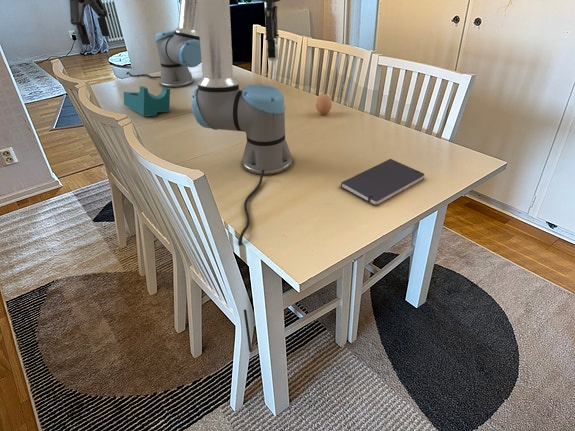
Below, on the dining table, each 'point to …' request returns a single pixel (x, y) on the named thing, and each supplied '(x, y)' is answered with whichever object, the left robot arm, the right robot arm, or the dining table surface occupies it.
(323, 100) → the egg
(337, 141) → the dining table surface
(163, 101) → the teal cradle holder
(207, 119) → the right robot arm
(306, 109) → the dining table surface
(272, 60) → the pill bottle
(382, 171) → the notebook
